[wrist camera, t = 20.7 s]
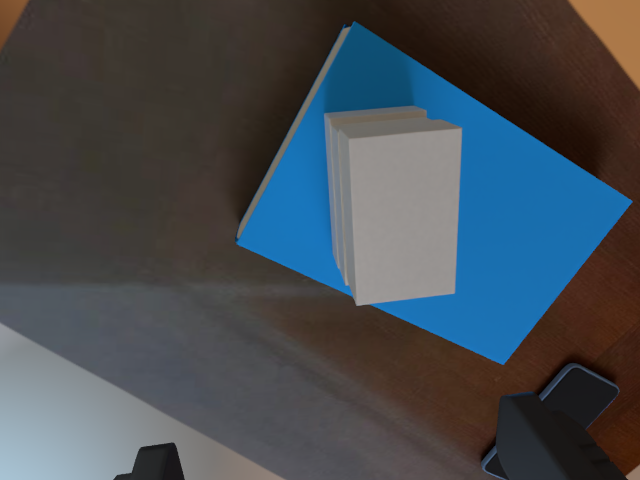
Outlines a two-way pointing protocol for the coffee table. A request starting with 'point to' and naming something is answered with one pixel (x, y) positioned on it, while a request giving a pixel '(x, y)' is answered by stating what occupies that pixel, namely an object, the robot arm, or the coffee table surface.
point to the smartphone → (568, 403)
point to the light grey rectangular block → (332, 136)
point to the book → (474, 201)
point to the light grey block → (401, 209)
